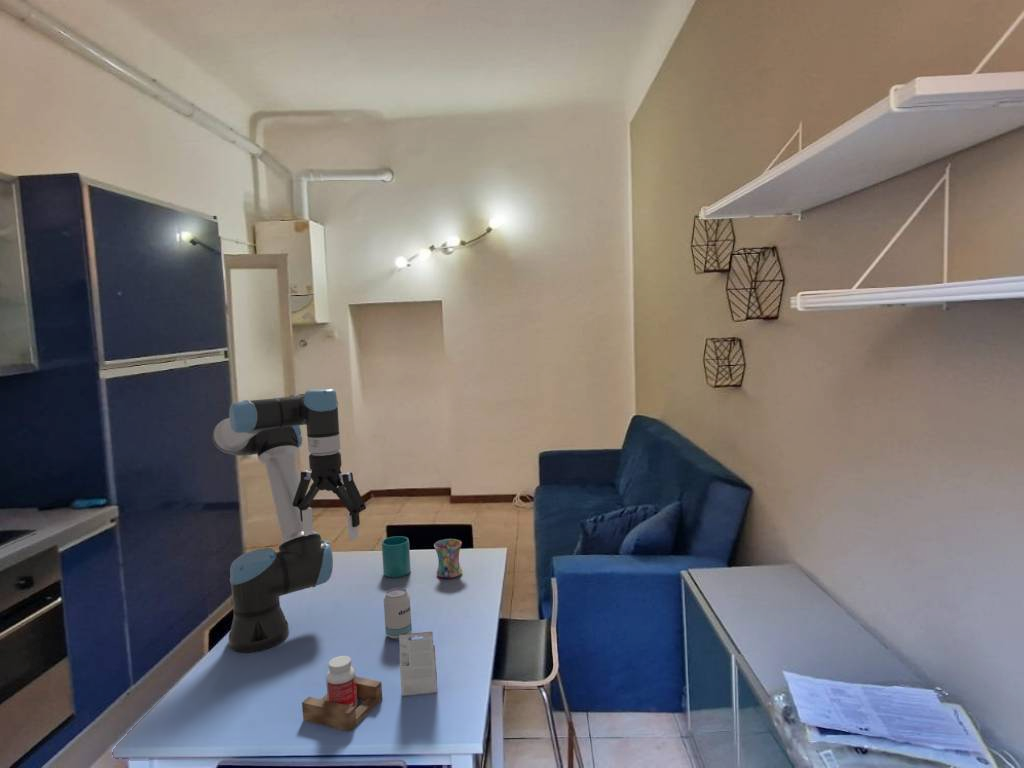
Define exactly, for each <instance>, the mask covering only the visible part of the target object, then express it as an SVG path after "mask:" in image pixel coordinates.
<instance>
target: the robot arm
mask: <svg viewBox="0 0 1024 768" xmlns="http://www.w3.org/2000/svg"><path fill="white" fill-rule="evenodd" d="M337 396H338V395H337V391H336V389H334V388H314V389H309V390H308V389H307V390H306V391H305V392H304V393H300V394H297V395H294V396H293V395H292V396H284V397H274V398H265V399H263V398H262V399H254V400H253V399H251V400H248V399H246V400H242V401H236V402H233V403H231V405H230V406H229V411H228V412H229V413H228V414H229V415H228V418H225V419H222V420H221V421H220V422H218V423H217V424H216V425H215V427H214V429H213V430H212V442H213V444H214V445H215V447H216V448H217V449H218V450H219V451H221V452H223V453H225V454H226V455H227V454H228V455H232V456H240V457H241V456H242V457H244V456H251V455H252V456H253V455H256V456H257V459H258V461H259V462H260V463H262V464H264V465H265V468H266V469H265V470H266V472H267V473H266V474H267V477H268V482H269V486H270V489H271V494H272V499H273V503H274V508H275V512H276V516H277V520H278V521H277V522H278V525H279V528H280V529H279V530H280V533H281V534H280V535H281V539H282V540H281V542H280V543H279V545H278V551H276V550H275V549H274V548H272V547H265V548H262V547H261V548H257V549H253V550H250V551H248V552H245V553H243V554H241V555H240V556H238V557H237V558H236V559H234V560H233V561H232V562H231V565H230V568H229V572H230V576H229V582H230V586H231V598H232V599H231V601H232V611H233V618H232V621H231V626H230V631H229V634H228V647H229V648H230V649H232V650H233V651H235V652H238V653H252V652H253V653H254V652H259V651H264V650H267V649H270V648H273V647H275V646H277V645H279V644H281V643H282V642H283V641H284V640H285V639H287V637H288V636H289V634H290V628H289V627H290V626H289V623H288V620H287V619H286V616H285V614H284V612H283V610H282V607H281V602H280V597H281V596H284V595H289V594H292V593H295V592H298V591H302V590H305V589H309V588H315V587H317V586H319V585H322V584H325V583H327V582H328V581H329V580H330V579H331V577H332V574H333V568H334V559H333V558H334V557H333V556H334V555H333V550H332V546H331V544H330V542H329V541H328V540H325V539H324V540H322V536H321V534H320V533H319V532H317V531H315V530H314V522H313V521H314V520H313V519H314V518H313V509H312V507H311V503H313V500H314V499H315V497H316V495H317V494H318V493H319V491H327V492H332V493H333V494H335V495H336V496H337V498H338V499H339V500H340V502H341V503H342V505H344V507H345V509H346V510H347V511H348V513H347V515H346V517H347V529H348V541H349V542H352V541H355V540H357V539H358V538H359V526H360V524H361V522H360V513H361V512H363V511H365V510H366V508H367V506H366V504H365V502H364V500H363V498H362V495H361V494H360V491H359V489H358V487H357V485H356V483H355V481H354V474H353V472H352V471H348V472H346V473H345V472H343V473H342V471H341V469H342V468H341V467H342V453H341V452H340V450H341V438H340V437H341V436H340V422H339V407H338V406H339V401H338V397H337ZM300 426H306V435H307V447H308V449H307V450H308V453H310V454H309V455H308V462H309V468H308V469H305V470H303V471H301V472H300V471H299V468H298V464H297V460H296V456H297V455H298V453H299V452H300V451H299V448H300V447H301V446H302V445H303V444H302V443H303V436H302V429H301V427H300ZM311 480H312V481H313V482H312V483H311ZM310 483H311V485H310ZM309 486H310V487H309ZM308 489H309V490H308Z"/></svg>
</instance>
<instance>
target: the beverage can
mask: <svg viewBox="0 0 1024 768" xmlns="http://www.w3.org/2000/svg"><path fill="white" fill-rule="evenodd" d="M410 596H411V595H409V593H408V591H407V589H406V588H404V587H394V588H391V589H389V590H387V591H386V592H385V595H384V598H383V610H384V611H383V612H384V625H385V635H386V636H387V637H389V638H390V639H392V640H399V635H402V634H412V633H411V632H412V631H413V630H412V628H413V627H412V614H411V613H412V612H411V611H412V610H411V597H410Z"/></svg>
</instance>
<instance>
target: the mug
mask: <svg viewBox="0 0 1024 768" xmlns="http://www.w3.org/2000/svg"><path fill="white" fill-rule="evenodd" d="M462 545H463V542H462V540H459V539H455V538H445V539H440V540H437V541H436V542H435V543H434V544H433V547H434V549H435V552H436V554H437V557H438V558H437V559H438V566H437V570H436V575H437V577H439V578H444V579H451V578H456V577H459V576H460V575H461V574H462V572H463V570H462V568H461V565H460V558H459V557H460V551H461V548H462Z"/></svg>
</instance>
